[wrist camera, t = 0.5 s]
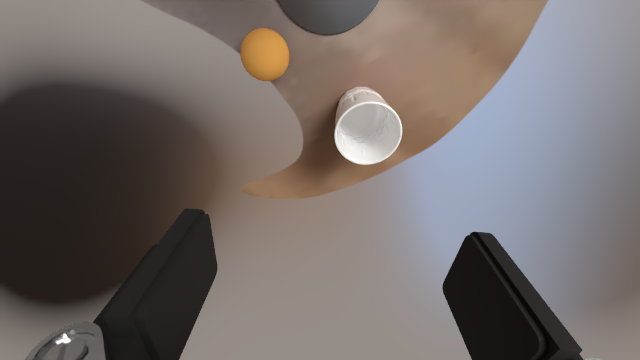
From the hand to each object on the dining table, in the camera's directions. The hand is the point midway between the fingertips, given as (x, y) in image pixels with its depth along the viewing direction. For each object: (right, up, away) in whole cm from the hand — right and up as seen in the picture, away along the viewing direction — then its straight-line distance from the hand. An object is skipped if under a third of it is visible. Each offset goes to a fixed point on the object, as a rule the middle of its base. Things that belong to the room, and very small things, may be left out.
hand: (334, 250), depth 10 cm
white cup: (+5, +13, +30) cm, 33 cm away
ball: (-7, +18, +24) cm, 31 cm away
